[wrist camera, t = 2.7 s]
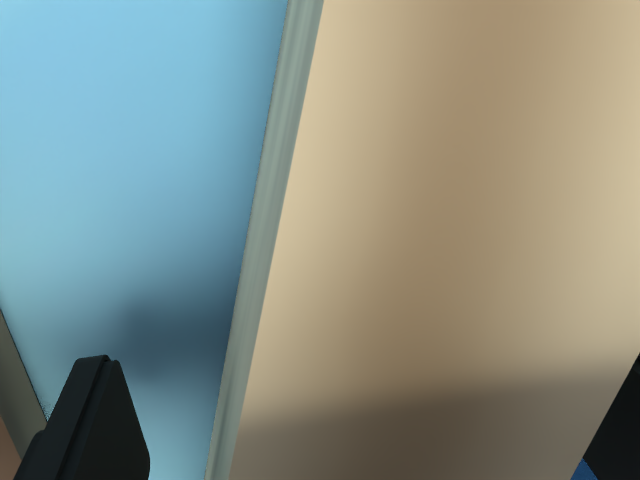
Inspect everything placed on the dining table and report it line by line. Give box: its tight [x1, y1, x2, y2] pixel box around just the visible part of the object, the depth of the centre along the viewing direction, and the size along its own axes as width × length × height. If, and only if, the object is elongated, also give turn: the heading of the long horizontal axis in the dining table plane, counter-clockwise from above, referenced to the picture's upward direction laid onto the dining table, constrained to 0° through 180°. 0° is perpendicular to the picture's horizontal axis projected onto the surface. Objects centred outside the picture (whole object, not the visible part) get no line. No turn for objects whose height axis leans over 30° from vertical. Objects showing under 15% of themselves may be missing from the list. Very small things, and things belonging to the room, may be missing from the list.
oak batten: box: [204, 0, 640, 480], centre depth 11 cm, size 6×24×6 cm, turn 168°
